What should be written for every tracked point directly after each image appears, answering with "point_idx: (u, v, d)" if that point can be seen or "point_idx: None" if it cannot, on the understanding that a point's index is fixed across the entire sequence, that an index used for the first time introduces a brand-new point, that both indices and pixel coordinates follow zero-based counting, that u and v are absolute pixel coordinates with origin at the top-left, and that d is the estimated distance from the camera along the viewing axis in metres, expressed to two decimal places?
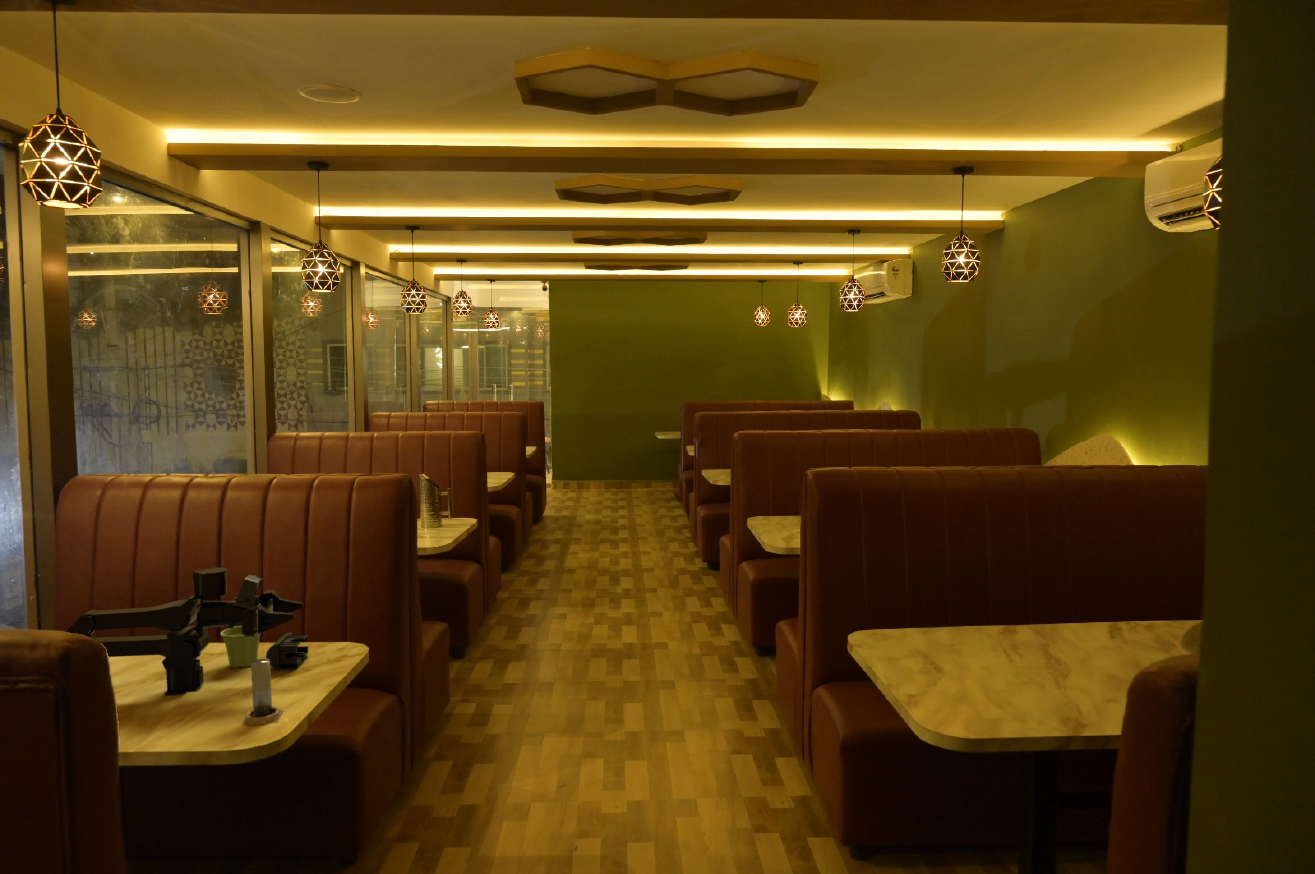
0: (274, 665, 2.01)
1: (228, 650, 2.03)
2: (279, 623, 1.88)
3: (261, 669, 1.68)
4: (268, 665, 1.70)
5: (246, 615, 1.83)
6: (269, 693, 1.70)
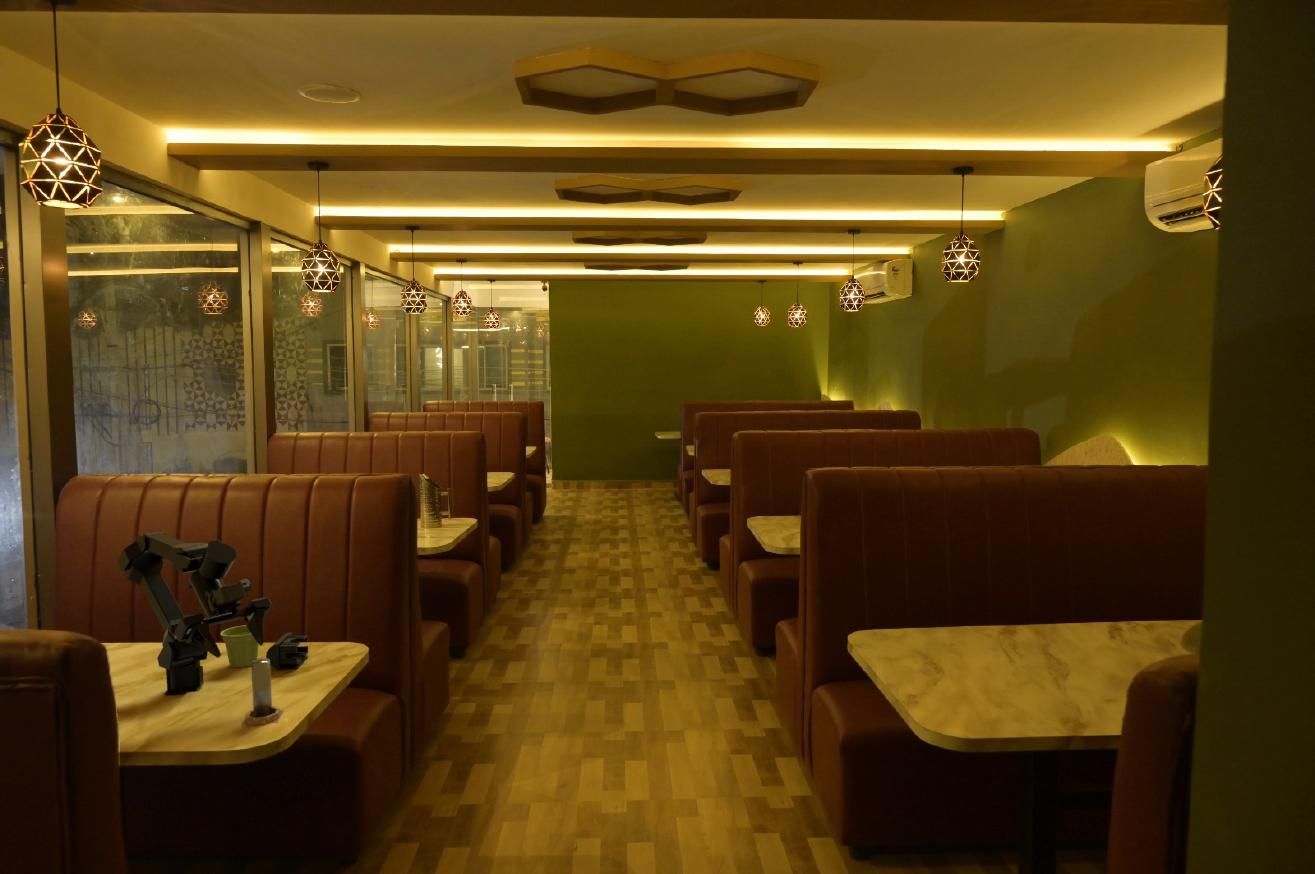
0: (274, 665, 2.01)
1: (228, 650, 2.03)
2: (207, 648, 1.72)
3: (261, 669, 1.68)
4: (268, 665, 1.70)
5: (181, 622, 1.69)
6: (269, 693, 1.70)
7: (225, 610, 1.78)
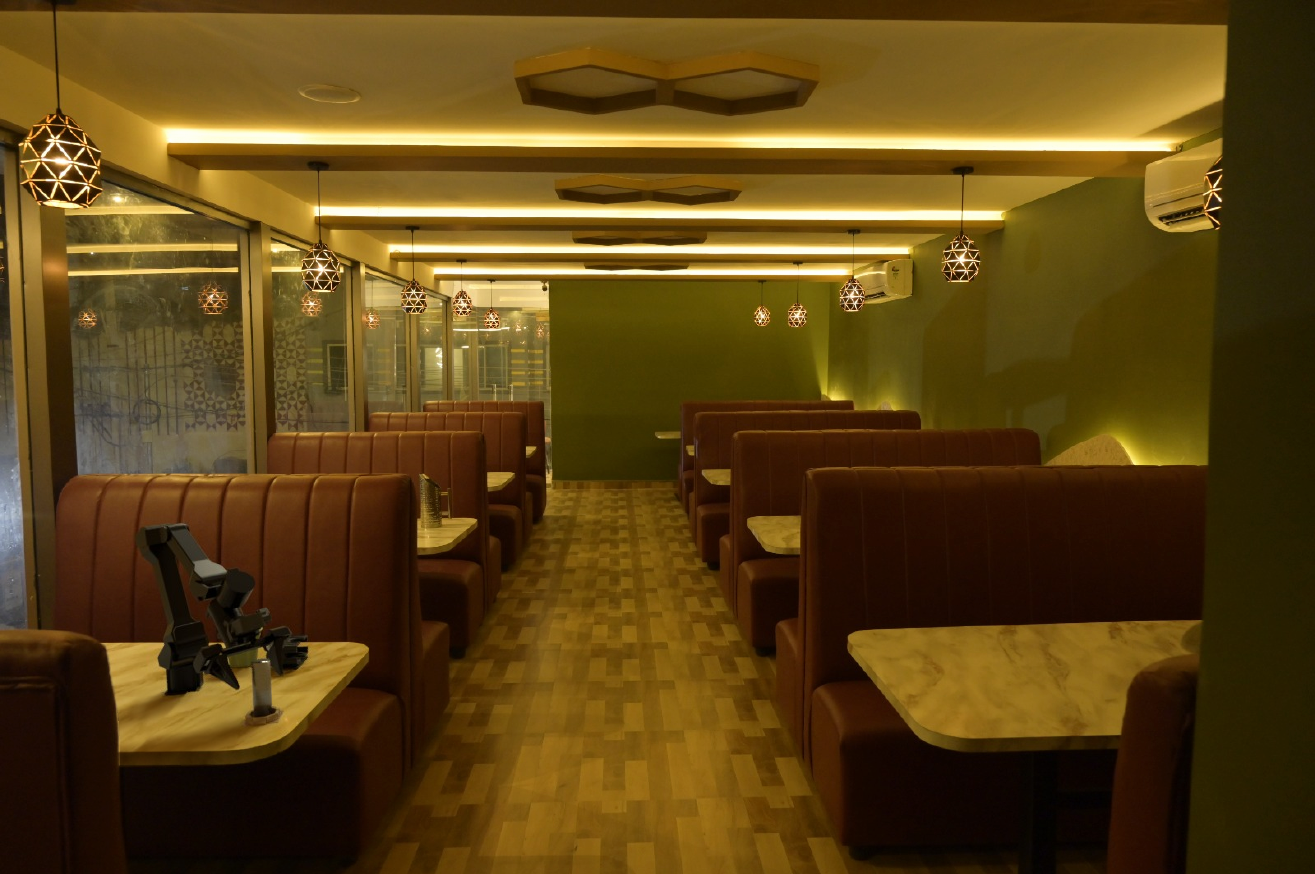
0: None
1: None
2: (225, 680, 1.68)
3: (261, 669, 1.68)
4: (268, 665, 1.70)
5: (200, 653, 1.65)
6: (269, 693, 1.70)
7: (244, 640, 1.74)
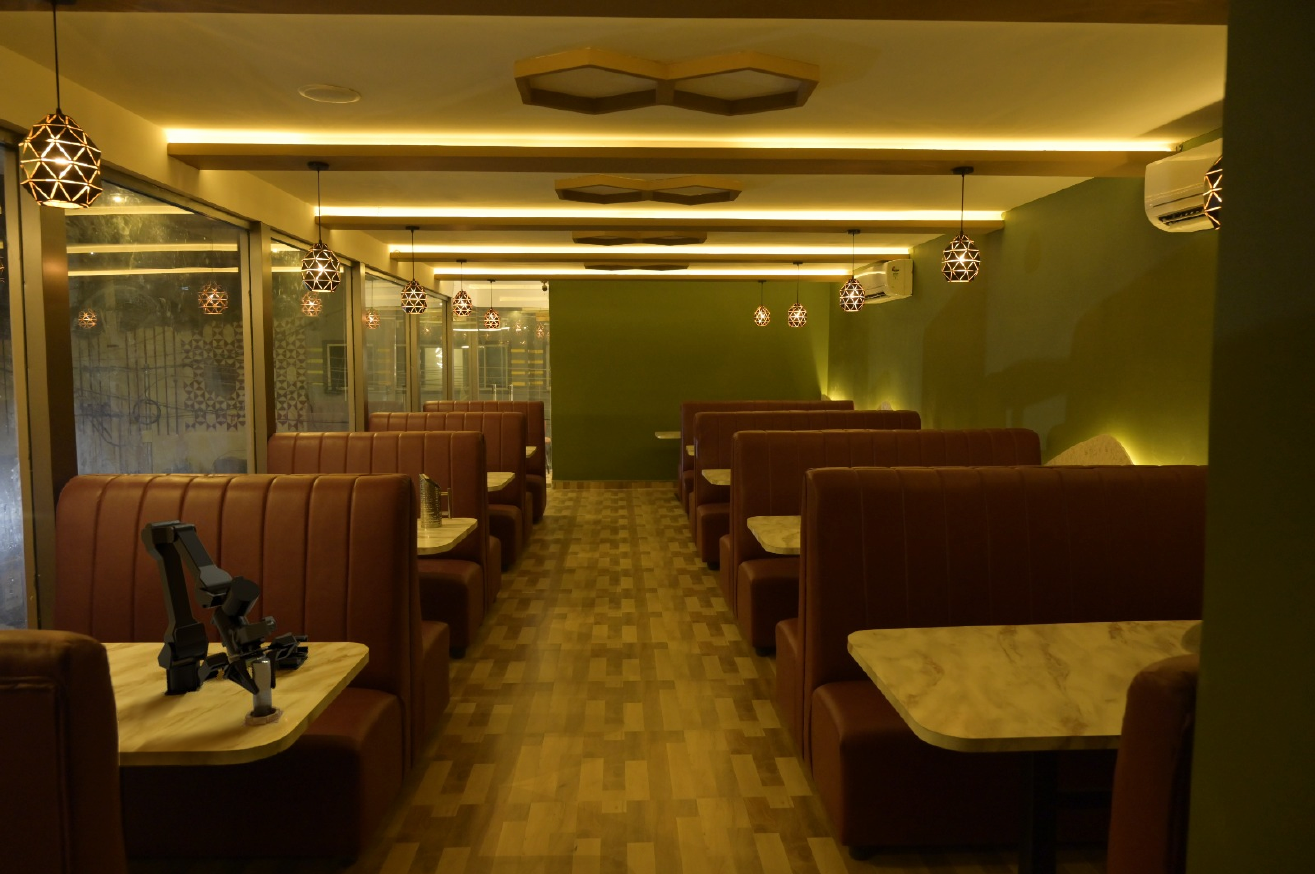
0: None
1: None
2: (243, 685, 1.69)
3: (261, 669, 1.68)
4: (268, 665, 1.70)
5: (205, 662, 1.64)
6: (269, 693, 1.70)
7: (249, 648, 1.73)
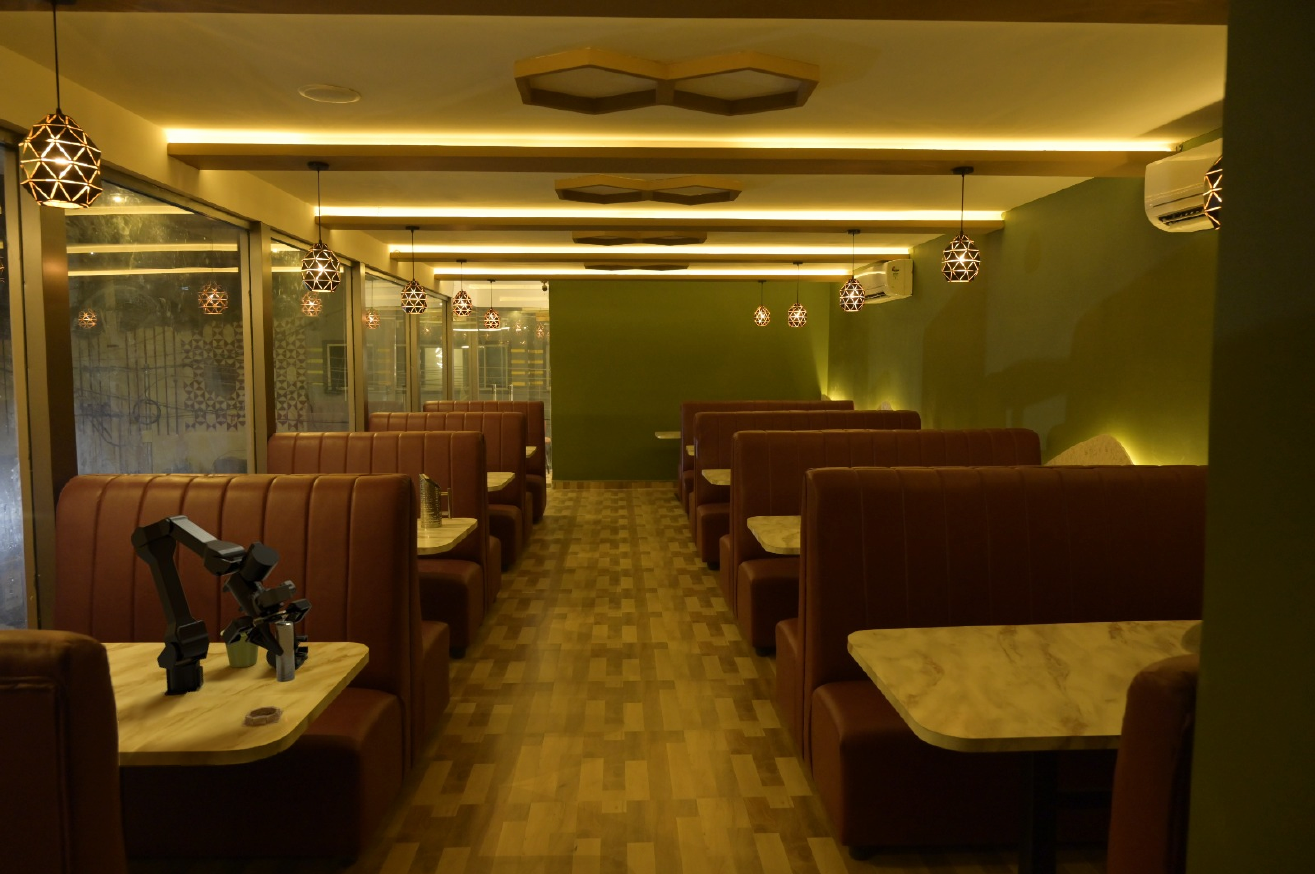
0: (274, 665, 2.01)
1: (228, 650, 2.03)
2: (267, 647, 1.73)
3: (286, 630, 1.73)
4: (292, 627, 1.74)
5: (232, 625, 1.67)
6: (293, 654, 1.75)
7: (268, 612, 1.77)
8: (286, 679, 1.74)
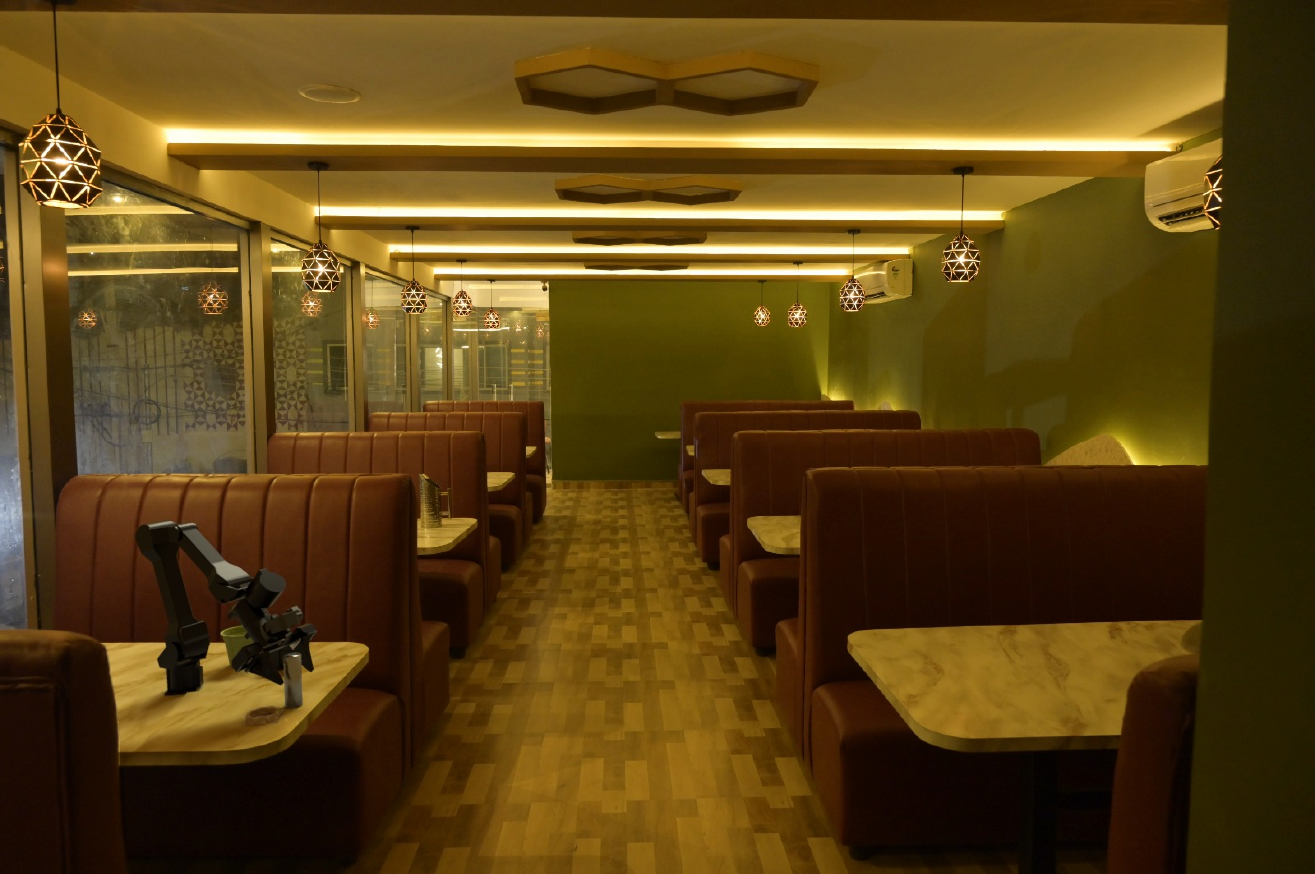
0: (274, 665, 2.01)
1: (228, 650, 2.03)
2: (267, 677, 1.73)
3: (295, 662, 1.75)
4: (300, 658, 1.77)
5: (242, 653, 1.69)
6: (301, 685, 1.77)
7: (275, 638, 1.79)
8: None
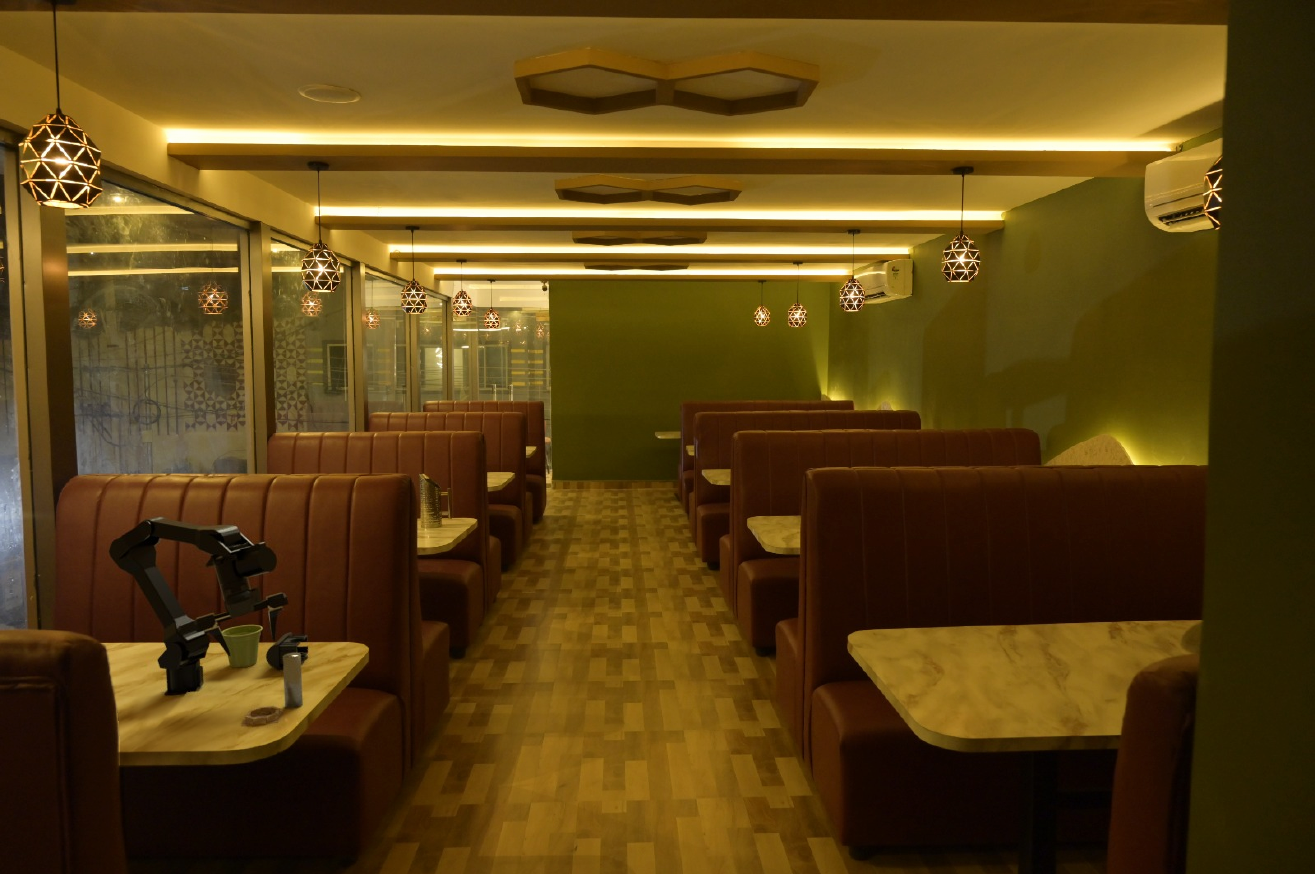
0: (274, 665, 2.01)
1: None
2: None
3: (294, 662, 1.75)
4: (300, 658, 1.77)
5: (194, 625, 1.78)
6: (301, 685, 1.77)
7: None
8: None
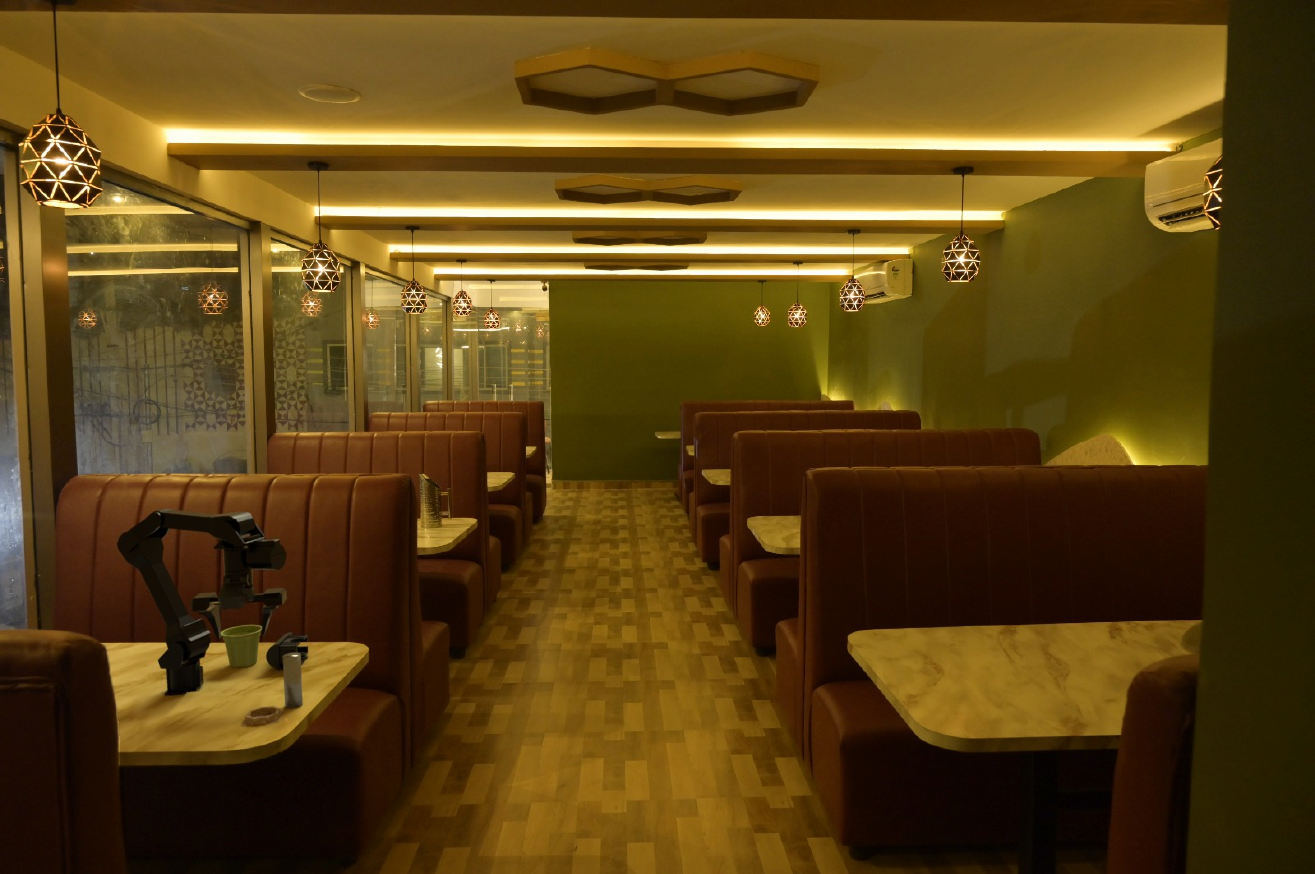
0: (274, 665, 2.01)
1: (228, 650, 2.03)
2: None
3: (294, 662, 1.75)
4: (300, 658, 1.77)
5: None
6: (301, 685, 1.77)
7: None
8: None
